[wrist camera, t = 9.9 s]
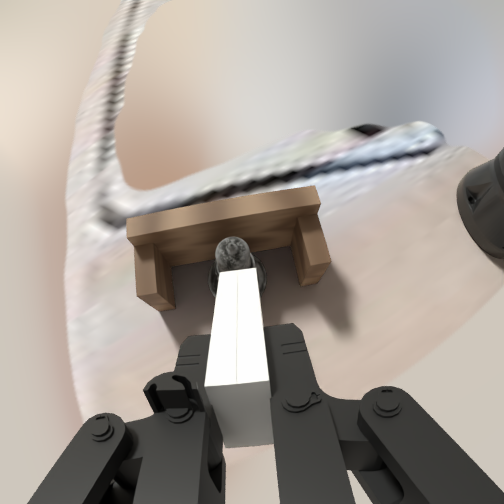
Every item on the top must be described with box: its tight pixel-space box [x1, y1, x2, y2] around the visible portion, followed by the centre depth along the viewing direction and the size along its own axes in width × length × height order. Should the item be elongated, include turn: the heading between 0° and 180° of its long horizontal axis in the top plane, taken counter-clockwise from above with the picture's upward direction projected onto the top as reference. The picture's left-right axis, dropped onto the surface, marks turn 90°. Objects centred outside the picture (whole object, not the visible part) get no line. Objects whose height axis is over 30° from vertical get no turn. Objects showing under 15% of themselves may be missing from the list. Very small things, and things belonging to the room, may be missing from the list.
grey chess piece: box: [208, 237, 267, 298], centre depth 29 cm, size 6×6×12 cm
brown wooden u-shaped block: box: [127, 186, 331, 311], centre depth 31 cm, size 18×7×9 cm, turn 101°
